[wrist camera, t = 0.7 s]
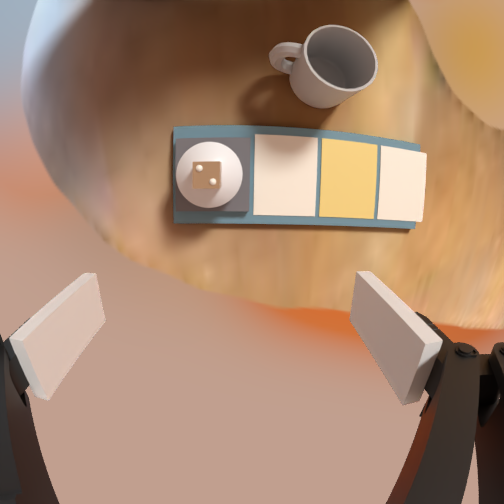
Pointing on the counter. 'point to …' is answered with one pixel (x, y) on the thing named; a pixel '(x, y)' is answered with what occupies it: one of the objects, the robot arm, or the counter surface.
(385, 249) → the counter surface
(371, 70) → the cup
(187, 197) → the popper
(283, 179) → the game board
